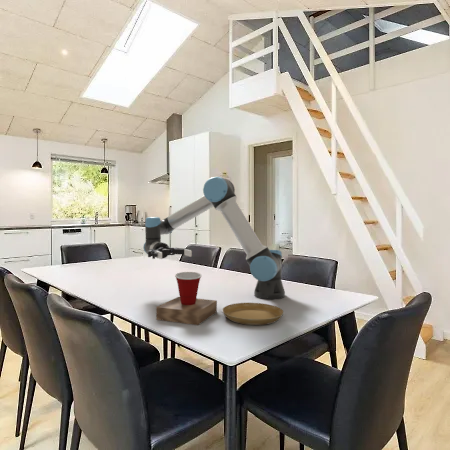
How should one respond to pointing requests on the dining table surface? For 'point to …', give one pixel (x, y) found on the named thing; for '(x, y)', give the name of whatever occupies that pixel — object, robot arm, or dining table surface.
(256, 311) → the plant saucer
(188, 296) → the plastic cup
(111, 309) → the dining table surface
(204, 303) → the walnut podium
